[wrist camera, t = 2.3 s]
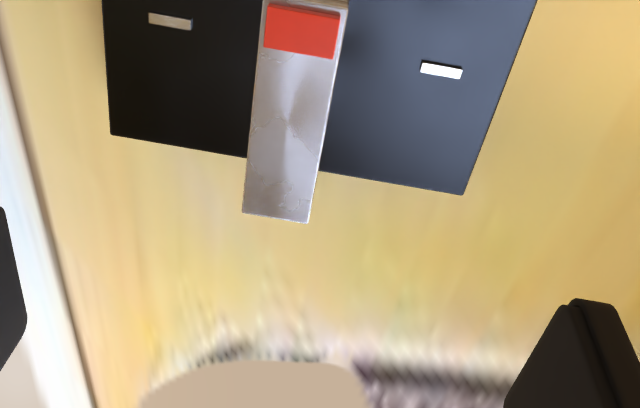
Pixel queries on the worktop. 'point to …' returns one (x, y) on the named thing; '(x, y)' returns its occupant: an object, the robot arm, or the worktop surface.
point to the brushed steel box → (291, 104)
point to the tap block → (349, 89)
